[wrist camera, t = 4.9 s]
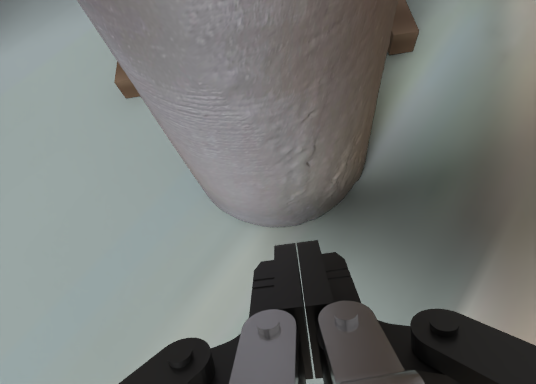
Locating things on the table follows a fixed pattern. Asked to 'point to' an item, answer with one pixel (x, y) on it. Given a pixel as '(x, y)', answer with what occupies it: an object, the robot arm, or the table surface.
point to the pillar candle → (258, 93)
